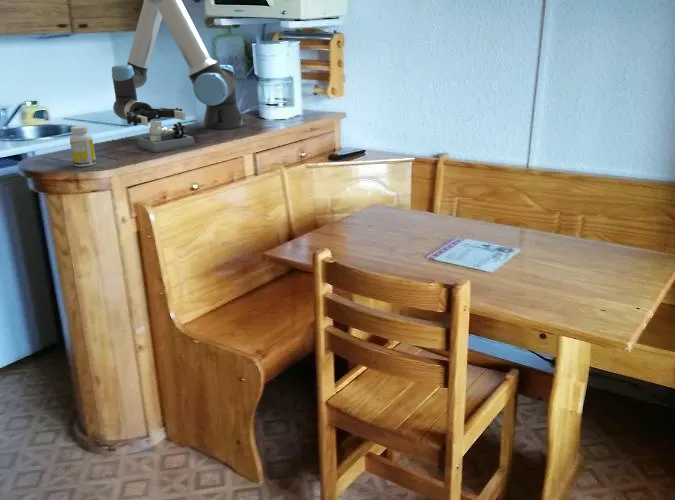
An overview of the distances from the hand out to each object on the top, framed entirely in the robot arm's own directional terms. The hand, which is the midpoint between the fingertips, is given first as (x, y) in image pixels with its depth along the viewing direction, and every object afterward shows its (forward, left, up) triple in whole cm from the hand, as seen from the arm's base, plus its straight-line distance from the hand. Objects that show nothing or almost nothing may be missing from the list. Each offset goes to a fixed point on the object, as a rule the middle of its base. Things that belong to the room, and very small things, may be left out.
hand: (165, 118), depth 219 cm
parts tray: (0, -2, -10) cm, 10 cm away
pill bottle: (+30, +4, -10) cm, 32 cm away
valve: (+1, -1, -8) cm, 8 cm away
